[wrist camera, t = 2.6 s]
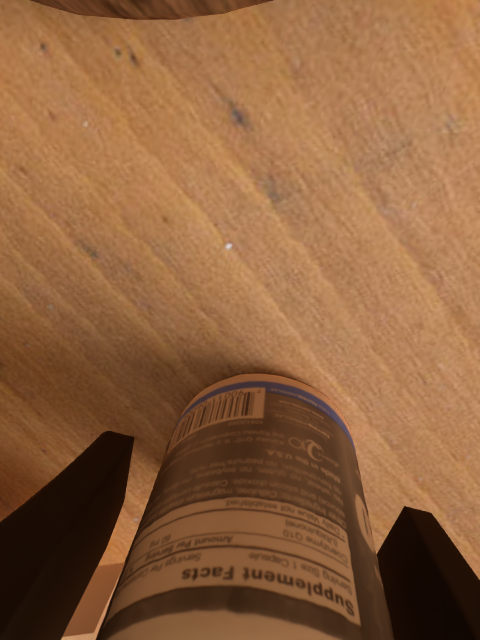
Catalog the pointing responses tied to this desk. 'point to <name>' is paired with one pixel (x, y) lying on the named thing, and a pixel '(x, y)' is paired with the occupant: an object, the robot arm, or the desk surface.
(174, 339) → the desk surface
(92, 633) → the perfume bottle
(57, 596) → the robot arm
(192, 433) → the pill bottle
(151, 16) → the figurine
